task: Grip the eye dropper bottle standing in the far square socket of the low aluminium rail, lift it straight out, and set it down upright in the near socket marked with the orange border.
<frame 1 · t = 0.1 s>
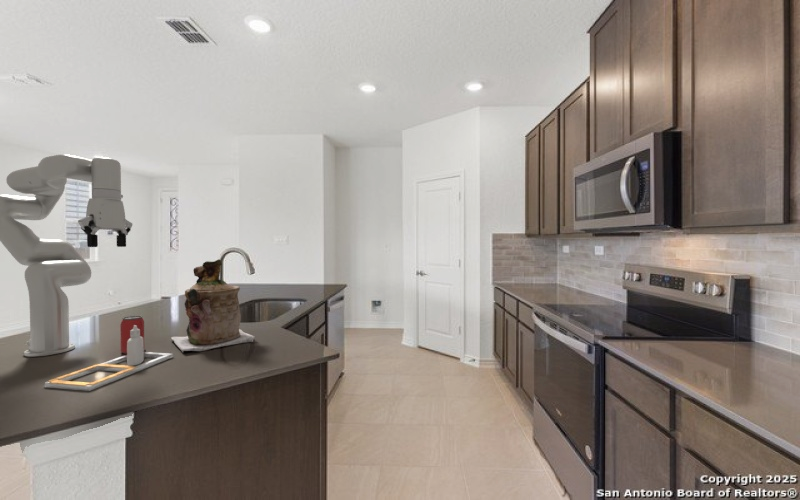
hand: (107, 246, 116), 37 cm above the countertop, tool pointing down, fingers open, 9 cm apart
beer can: (132, 351, 121), on the countertop
eye dropper bottle: (135, 363, 109), resting in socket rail
cookie jar: (213, 341, 134), on the countertop
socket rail: (116, 370, 103), on the countertop
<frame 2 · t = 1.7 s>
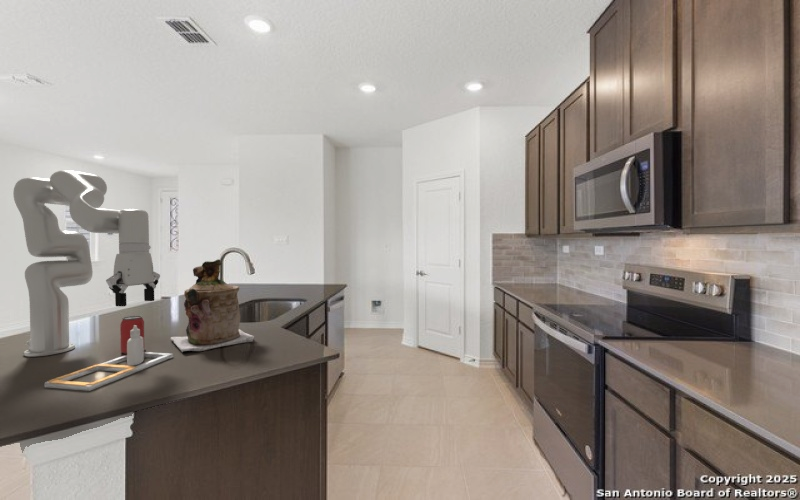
hand: (135, 303, 108), 19 cm above the countertop, tool pointing down, fingers open, 9 cm apart
nothing on the countertop moved.
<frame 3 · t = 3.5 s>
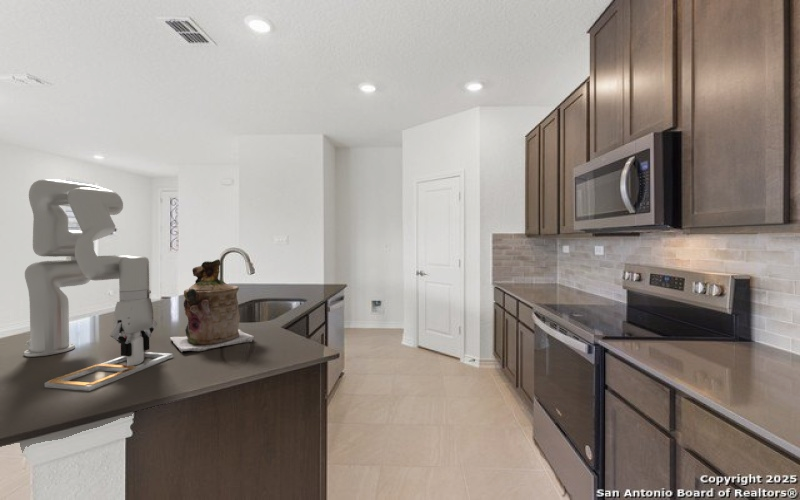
hand: (135, 352, 109), 4 cm above the countertop, tool pointing down, fingers closed on eye dropper bottle, 5 cm apart
eye dropper bottle: (135, 363, 109), resting in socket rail, touching gripper
everything else where it was.
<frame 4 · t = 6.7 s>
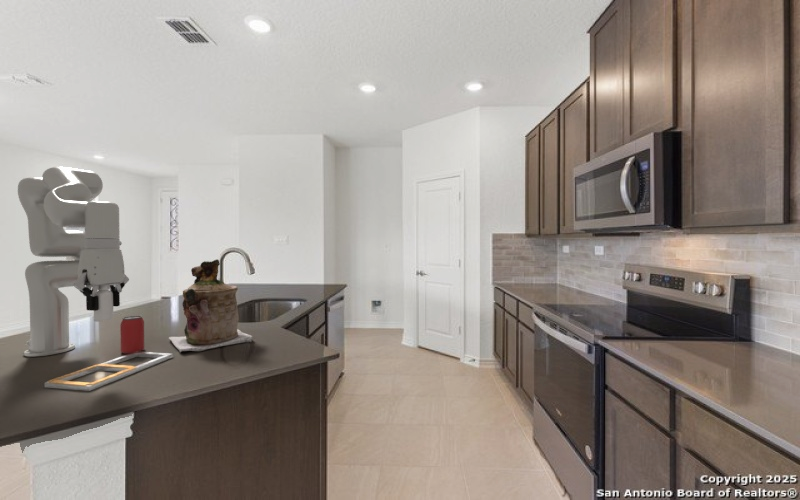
hand: (103, 307, 99), 19 cm above the countertop, tool pointing down, fingers closed on eye dropper bottle, 5 cm apart
eye dropper bottle: (104, 320, 99), point 16 cm above the countertop, touching gripper
everything else where it was.
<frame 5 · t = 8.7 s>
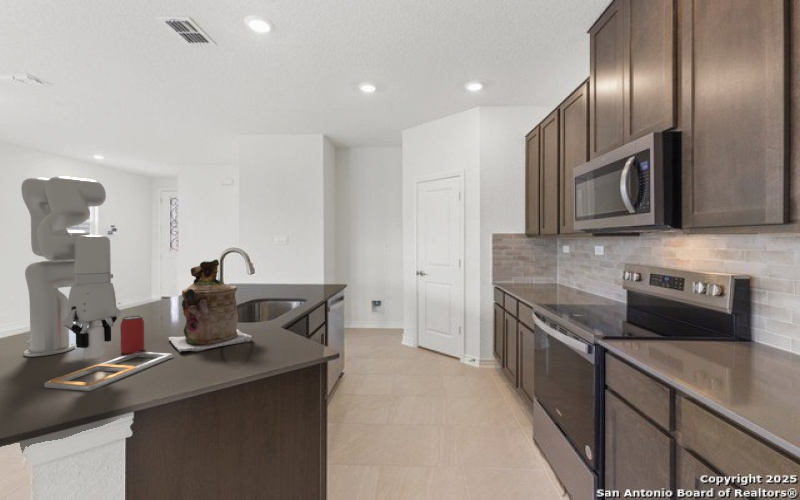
hand: (94, 343, 96), 10 cm above the countertop, tool pointing down, fingers closed on eye dropper bottle, 5 cm apart
eye dropper bottle: (94, 356, 96), point 6 cm above the countertop, touching gripper
when the fingers open (5 cm above the countertop, at t = 10.1 s): eye dropper bottle drops 1 cm, resting in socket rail.
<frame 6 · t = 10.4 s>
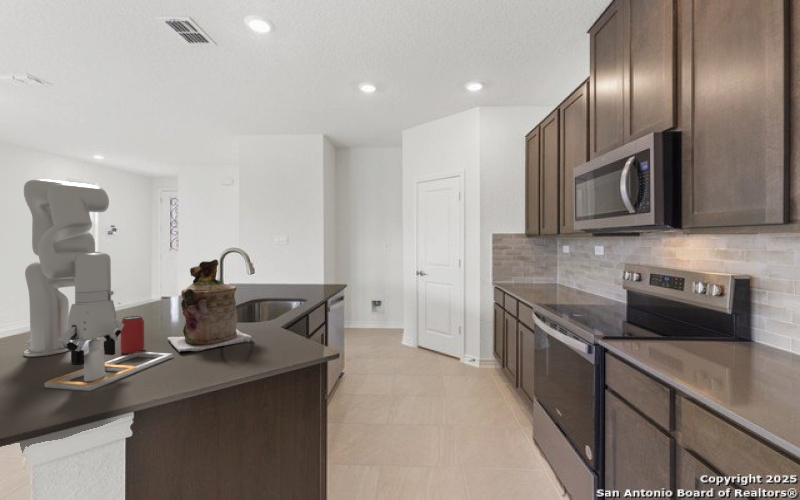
hand: (94, 359, 96), 5 cm above the countertop, tool pointing down, fingers open, 8 cm apart
eye dropper bottle: (94, 379, 97), resting in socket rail
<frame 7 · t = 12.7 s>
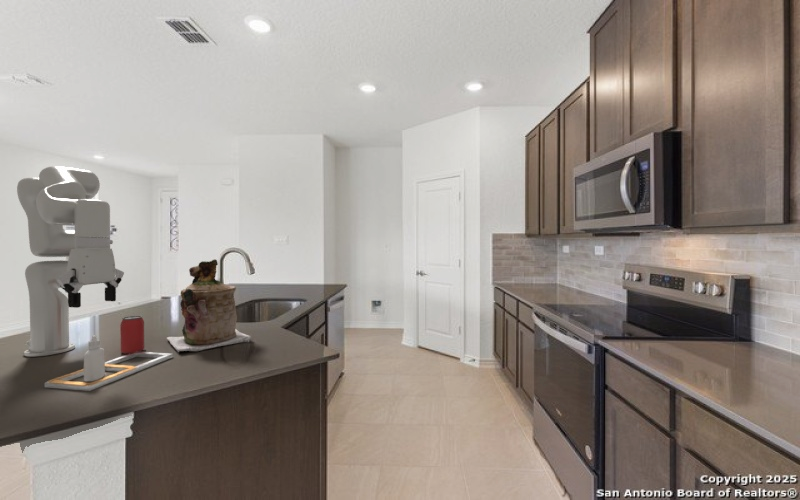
hand: (93, 303, 98), 21 cm above the countertop, tool pointing down, fingers open, 9 cm apart
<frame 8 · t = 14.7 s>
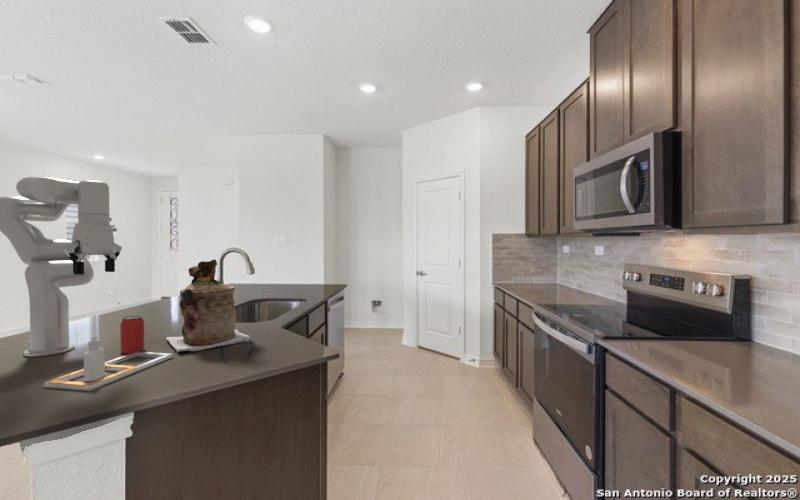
hand: (95, 273, 111), 28 cm above the countertop, tool pointing down, fingers open, 9 cm apart
at the end: eye dropper bottle inside the target area on the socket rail (0.3 cm from its centre), point 0.0 cm above the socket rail's base; eye dropper bottle tilted 0°; the gripper is holding nothing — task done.
